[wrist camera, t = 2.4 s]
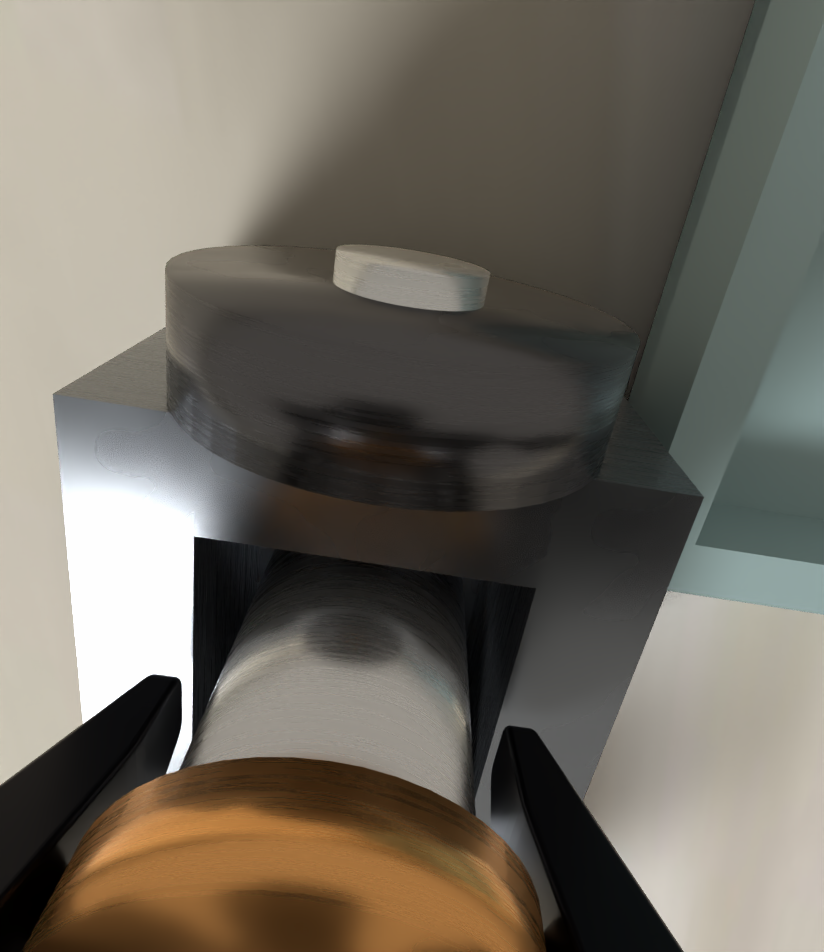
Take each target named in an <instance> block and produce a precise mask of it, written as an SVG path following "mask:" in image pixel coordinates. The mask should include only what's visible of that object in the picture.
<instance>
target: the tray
mask: <svg viewBox="0 0 824 952" xmlns="http://www.w3.org/2000/svg"><path fill="white" fill-rule="evenodd" d="M628 402H629V403H630V404H631V406H632V407H633V408H634V409H635V411H636V412H637V413H638V414H639V416H640V417H641V418H642V419H643V421H644V422H645V423H646V425H647V426H648V427H649V428H650V430H651V431H652V432H653V433H654V435H655V436H656V437H657V438H658V440H659V441H660V442H661V443H662V445H663V446H664V447H665V448H666V450H667V451H668V452H669V454H670V455H671V456H672V457H673V459H674V460H675V461H676V462H677V464H678V465H679V466H680V467H681V469H682V470H683V471H684V472H685V474H686V475H687V476H688V477H689V479H690V480H691V481H692V483H693V484H694V485H695V486H696V488H697V489H698V490H699V491H700V493H701V494H702V495H703V496H704V499H703V501H702V504H701V506H700V509H699V511H698V514H697V516H696V519H695V521H694V524H693V526H692V529H691V531H690V534H689V536H688V539H687V541H686V544H685V546H684V549H683V551H682V554H681V556H680V559H679V561H678V564H677V566H676V569H675V571H674V574H673V576H672V579H671V581H670V584H669V586H668V589H667V591H673V592H680V593H686V594H693V595H700V596H706V597H713V598H719V599H726V600H732V601H739V602H745V603H752V604H758V605H765V606H771V607H778V608H784V609H791V610H797V611H804V612H810V613H817V614H823V615H824V0H755V4H754V7H753V10H752V13H751V16H750V19H749V22H748V26H747V29H746V32H745V35H744V38H743V41H742V44H741V48H740V51H739V54H738V57H737V60H736V63H735V66H734V70H733V73H732V76H731V79H730V82H729V85H728V88H727V92H726V95H725V98H724V101H723V104H722V107H721V110H720V114H719V117H718V120H717V123H716V126H715V129H714V132H713V136H712V139H711V142H710V145H709V148H708V151H707V154H706V158H705V161H704V164H703V167H702V170H701V173H700V176H699V180H698V183H697V186H696V189H695V192H694V195H693V198H692V202H691V205H690V208H689V211H688V214H687V217H686V220H685V224H684V227H683V230H682V233H681V236H680V239H679V242H678V246H677V249H676V252H675V255H674V258H673V261H672V264H671V268H670V271H669V274H668V277H667V280H666V283H665V287H664V290H663V293H662V296H661V299H660V302H659V305H658V309H657V312H656V315H655V318H654V321H653V324H652V327H651V331H650V334H649V337H648V340H647V343H646V346H645V349H644V353H643V356H642V359H641V362H640V365H639V368H638V371H637V375H636V378H635V381H634V384H633V387H632V390H631V393H630V397H629V400H628Z"/></svg>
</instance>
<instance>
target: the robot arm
mask: <svg viewBox="0 0 824 952" xmlns="http://www.w3.org/2000/svg"><path fill="white" fill-rule="evenodd" d="M181 725H182V683H181V680H180V679H179V678H178V677H175V676H168V675H161V674H151V675H148V676H147V677H145V678H144V679H142V680H141V681H140V682H138V683H137V684H136V685H134V686H133V687H132V688H130V689H129V690H128V691H126V692H125V693H124V694H122V695H121V696H120V697H118V698H117V699H115V700H114V701H113V702H111V703H110V704H109V705H107V706H106V707H105V708H103V709H102V710H101V711H99V712H98V713H97V714H95V715H94V716H93V717H91V718H90V719H89V720H87V721H86V722H85V723H83V724H82V725H81V726H79V727H78V728H77V729H75V730H74V731H73V732H71V733H70V734H68V735H67V736H66V737H64V738H63V739H62V740H60V741H59V742H58V743H56V744H55V745H54V746H52V747H51V748H50V749H48V750H47V751H46V752H44V753H43V754H42V755H40V756H39V757H38V758H36V759H35V760H34V761H32V762H31V763H30V764H28V765H27V766H26V767H24V768H23V769H21V770H20V771H19V772H17V773H16V774H15V775H13V776H12V777H11V778H9V779H8V780H7V781H5V782H4V783H3V784H1V785H0V952H22V950H23V948H24V946H25V944H26V942H27V941H28V939H29V937H30V935H31V933H32V931H33V929H34V927H35V925H36V924H37V922H38V920H39V918H40V916H41V914H42V912H43V910H44V909H45V907H46V905H47V903H48V901H49V899H50V897H51V895H52V894H53V892H54V890H55V888H56V886H57V884H58V882H59V880H60V879H61V877H62V875H63V873H64V871H65V869H66V867H67V865H68V864H69V862H70V860H71V858H72V856H73V854H74V852H75V850H76V849H77V847H78V845H79V843H80V841H81V839H82V837H83V836H84V834H85V833H86V832H87V830H88V829H89V827H90V826H91V825H92V823H93V822H94V821H95V819H96V818H97V817H98V816H99V815H101V814H102V813H103V812H104V811H105V810H106V809H107V808H108V807H109V806H110V805H111V804H112V803H114V802H115V801H117V800H118V799H120V798H121V797H123V796H124V795H126V794H127V793H129V792H130V791H132V790H133V789H135V788H137V787H139V786H141V785H143V784H145V783H148V782H150V781H152V780H154V779H156V778H158V777H160V776H163V775H166V773H167V770H168V767H169V764H170V761H171V758H172V755H173V753H174V750H175V747H176V744H177V741H178V738H179V735H180V731H181ZM491 829H492V830H493V831H494V832H495V833H496V834H498V835H499V836H500V837H501V838H502V839H503V840H504V841H505V842H506V843H507V844H508V846H509V847H510V848H511V849H512V850H513V851H514V853H515V854H516V855H517V856H518V857H519V859H520V860H521V862H522V863H523V865H524V867H525V868H526V870H527V872H528V873H529V875H530V877H531V879H532V881H533V884H534V886H535V889H536V892H537V895H538V897H539V902H540V909H541V916H542V923H543V930H544V938H545V945H546V952H684V951H683V950H682V948H681V947H680V945H679V944H678V942H677V941H676V939H675V938H674V936H673V935H672V933H671V932H670V930H669V929H668V927H667V926H666V924H665V923H664V922H663V920H662V919H661V917H660V916H659V914H658V913H657V911H656V910H655V908H654V907H653V905H652V904H651V902H650V901H649V899H648V898H647V896H646V895H645V893H644V892H643V890H642V889H641V887H640V886H639V884H638V883H637V881H636V880H635V878H634V877H633V875H632V874H631V872H630V871H629V869H628V868H627V866H626V865H625V863H624V862H623V860H622V859H621V857H620V856H619V854H618V853H617V851H616V850H615V848H614V847H613V845H612V844H611V842H610V841H609V839H608V838H607V836H606V835H605V833H604V832H603V830H602V829H601V827H600V826H599V824H598V823H597V821H596V820H595V818H594V817H593V815H592V814H591V812H590V811H589V809H588V808H587V806H586V805H585V804H584V802H583V801H582V799H581V798H580V796H579V795H578V793H577V792H576V790H575V789H574V787H573V786H572V784H571V783H570V781H569V780H568V778H567V777H566V775H565V774H564V772H563V771H562V769H561V768H560V766H559V765H558V763H557V762H556V760H555V759H554V757H553V756H552V754H551V753H550V751H549V750H548V748H547V747H546V745H545V744H544V742H543V741H542V739H541V738H540V736H539V735H538V733H537V732H536V731H535V730H533V729H531V728H525V727H518V726H511V725H509V726H506V727H505V729H504V730H503V732H502V735H501V739H500V742H499V746H498V749H497V752H496V756H495V759H494V762H493V766H492V772H491Z"/></svg>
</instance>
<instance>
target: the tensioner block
mask: <svg viewBox="0 0 824 952" xmlns="http://www.w3.org/2000/svg"><path fill="white" fill-rule="evenodd" d="M165 290H166V327H165V328H163V329H162V330H160V331H158V332H156V333H155V334H153V335H151V336H150V337H148V338H146V339H145V340H143V341H141V342H140V343H138V344H136V345H135V346H133V347H131V348H129V349H128V350H126V351H124V352H123V353H121V354H119V355H118V356H116V357H114V358H113V359H111V360H109V361H108V362H106V363H104V364H103V365H101V366H99V367H97V368H96V369H94V370H92V371H91V372H89V373H87V374H86V375H84V376H82V377H81V378H79V379H77V380H76V381H74V382H72V383H71V384H69V385H67V386H65V387H64V388H62V389H60V390H59V391H57V392H55V393H54V394H53V401H54V412H55V423H56V434H57V444H58V455H59V466H60V477H61V488H62V499H63V510H64V520H65V531H66V542H67V553H68V564H69V575H70V585H71V596H72V607H73V618H74V629H75V640H76V651H77V661H78V672H79V683H80V694H81V705H82V716H83V723H85V722H86V721H87V720H89V719H90V718H91V717H93V716H94V715H95V714H97V713H98V712H99V711H101V710H102V709H103V708H105V707H106V706H107V705H109V704H110V703H111V702H113V701H114V700H115V699H117V698H118V697H120V696H121V695H122V694H124V693H125V692H126V691H128V690H129V689H130V688H132V687H133V686H134V685H136V684H137V683H138V682H140V681H141V680H142V679H144V678H145V677H147V676H148V675H151V674H161V675H168V676H175V677H178V678H179V679H180V680H181V683H182V725H181V731H180V735H179V738H178V741H177V744H176V747H175V750H174V753H173V755H172V758H171V761H170V764H169V767H168V770H167V773H166V774H169V773H173V772H176V771H179V769H180V767H181V764H182V762H183V760H184V757H185V755H186V753H187V750H188V748H189V746H190V744H191V741H192V739H193V737H194V734H195V732H196V730H197V727H198V725H199V723H200V720H201V718H202V716H203V713H204V711H205V709H206V707H207V704H208V702H209V700H210V697H211V695H212V693H213V690H214V688H215V686H216V683H217V681H218V679H219V676H220V674H221V672H222V669H223V667H224V665H225V663H226V660H227V658H228V656H229V653H230V651H231V649H232V646H233V644H234V642H235V639H236V637H237V635H238V632H239V630H240V628H241V626H242V623H243V621H244V619H245V616H246V614H247V612H248V609H249V607H250V605H251V602H252V600H253V598H254V595H255V593H256V591H257V588H258V586H259V584H260V582H261V579H262V577H263V575H264V572H265V570H266V568H267V565H268V563H269V561H270V558H271V556H272V554H273V551H274V549H281V550H288V551H294V552H301V553H307V554H314V555H320V556H327V557H333V558H340V559H347V560H353V561H360V562H366V563H373V564H379V565H386V566H392V567H399V568H406V569H412V570H419V571H425V572H432V573H438V574H445V575H451V576H458V577H463V592H464V610H465V628H466V646H467V665H468V683H469V701H470V719H471V737H472V756H473V774H474V792H475V810H476V817H477V818H478V819H480V820H481V821H483V822H484V823H485V824H486V825H487V826H489V827H490V828H491V772H492V766H493V762H494V759H495V756H496V752H497V749H498V746H499V742H500V739H501V735H502V732H503V730H504V729H505V727H506V726H509V725H511V726H518V727H525V728H531V729H533V730H535V731H536V732H537V733H538V735H539V736H540V738H541V739H542V741H543V742H544V744H545V745H546V747H547V748H548V750H549V751H550V753H551V754H552V756H553V757H554V759H555V760H556V762H557V763H558V765H559V766H560V768H561V769H562V771H563V772H564V774H565V775H566V777H567V778H568V780H569V781H570V783H571V784H572V786H573V787H574V789H575V790H576V792H577V793H578V795H579V796H580V798H581V799H582V801H583V799H584V796H585V794H586V791H587V789H588V786H589V784H590V781H591V779H592V776H593V774H594V771H595V769H596V766H597V764H598V761H599V759H600V756H601V754H602V751H603V749H604V746H605V744H606V741H607V739H608V736H609V734H610V731H611V729H612V726H613V724H614V721H615V719H616V716H617V714H618V711H619V709H620V706H621V704H622V701H623V699H624V696H625V694H626V691H627V689H628V686H629V684H630V681H631V679H632V676H633V674H634V671H635V669H636V666H637V664H638V661H639V659H640V656H641V654H642V651H643V649H644V646H645V644H646V641H647V639H648V636H649V634H650V631H651V629H652V626H653V624H654V621H655V619H656V616H657V614H658V611H659V609H660V606H661V604H662V601H663V599H664V596H665V594H666V591H667V589H668V586H669V584H670V581H671V579H672V576H673V574H674V571H675V569H676V566H677V564H678V561H679V559H680V556H681V554H682V551H683V549H684V546H685V544H686V541H687V539H688V536H689V534H690V531H691V529H692V526H693V524H694V521H695V519H696V516H697V514H698V511H699V509H700V506H701V504H702V501H703V499H704V496H703V495H702V494H701V493H700V491H699V490H698V489H697V488H696V486H695V485H694V484H693V483H692V481H691V480H690V479H689V477H688V476H687V475H686V474H685V472H684V471H683V470H682V469H681V467H680V466H679V465H678V464H677V462H676V461H675V460H674V459H673V457H672V456H671V455H670V454H669V452H668V451H667V450H666V448H665V447H664V446H663V445H662V443H661V442H660V441H659V440H658V438H657V437H656V436H655V435H654V433H653V432H652V431H651V430H650V428H649V427H648V426H647V425H646V423H645V422H644V421H643V419H642V418H641V417H640V416H639V414H638V413H637V412H636V411H635V409H634V408H633V407H632V406H631V404H630V403H629V402H628V401H627V399H626V398H625V397H624V393H625V390H626V387H627V383H628V380H629V377H630V374H631V371H632V367H633V364H634V361H635V358H636V355H637V351H638V348H639V345H640V339H639V337H638V335H637V334H636V333H635V332H634V330H633V329H632V328H630V327H629V326H628V325H626V324H625V323H623V322H622V321H620V320H618V319H617V318H615V317H613V316H611V315H609V314H607V313H605V312H603V311H601V310H599V309H596V308H594V307H592V306H589V305H587V304H584V303H582V302H579V301H576V300H573V299H570V298H568V297H565V296H562V295H559V294H556V293H552V292H549V291H546V290H543V289H539V288H536V287H532V286H529V285H525V284H522V283H518V282H514V281H510V280H506V279H502V278H498V277H494V276H490V272H489V271H488V270H486V269H484V268H482V267H480V266H477V265H475V264H472V263H468V262H465V261H462V260H458V259H454V258H450V257H446V256H441V255H436V254H432V253H426V252H421V251H415V250H409V249H402V248H395V247H386V246H376V245H358V244H357V245H341V246H338V247H337V248H336V250H331V249H319V248H307V247H289V246H224V247H213V248H205V249H198V250H193V251H189V252H185V253H181V254H179V255H177V256H175V257H173V258H171V259H170V260H169V261H168V262H167V263H166V268H165Z"/></svg>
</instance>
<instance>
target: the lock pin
mask: <svg viewBox="0 0 824 952" xmlns="http://www.w3.org/2000/svg"><path fill="white" fill-rule="evenodd" d="M22 952H546V945H545V938H544V930H543V923H542V916H541V909H540V902H539V897H538V895H537V892H536V889H535V886H534V884H533V881H532V879H531V877H530V875H529V873H528V872H527V870H526V868H525V867H524V865H523V863H522V862H521V860H520V859H519V857H518V856H517V855H516V854H515V853H514V851H513V850H512V849H511V848H510V847H509V846H508V844H507V843H506V842H505V841H504V840H503V839H502V838H501V837H500V836H499V835H498V834H496V833H495V832H494V831H493V830H492V829H491V828H490V827H489V826H487V825H486V824H485V823H484V822H483V821H481V820H480V819H478V818H477V817H476V810H475V792H474V774H473V756H472V737H471V719H470V701H469V683H468V665H467V646H466V628H465V610H464V592H463V577H458V576H451V575H445V574H438V573H432V572H425V571H419V570H412V569H406V568H399V567H392V566H386V565H379V564H373V563H366V562H360V561H353V560H347V559H340V558H333V557H327V556H320V555H314V554H307V553H301V552H294V551H288V550H281V549H274V551H273V554H272V556H271V558H270V561H269V563H268V565H267V568H266V570H265V572H264V575H263V577H262V579H261V582H260V584H259V586H258V588H257V591H256V593H255V595H254V598H253V600H252V602H251V605H250V607H249V609H248V612H247V614H246V616H245V619H244V621H243V623H242V626H241V628H240V630H239V632H238V635H237V637H236V639H235V642H234V644H233V646H232V649H231V651H230V653H229V656H228V658H227V660H226V663H225V665H224V667H223V669H222V672H221V674H220V676H219V679H218V681H217V683H216V686H215V688H214V690H213V693H212V695H211V697H210V700H209V702H208V704H207V707H206V709H205V711H204V713H203V716H202V718H201V720H200V723H199V725H198V727H197V730H196V732H195V734H194V737H193V739H192V741H191V744H190V746H189V748H188V750H187V753H186V755H185V757H184V760H183V762H182V764H181V767H180V769H179V771H176V772H173V773H169V774H166V775H163V776H160V777H158V778H156V779H154V780H152V781H150V782H148V783H145V784H143V785H141V786H139V787H137V788H135V789H133V790H132V791H130V792H129V793H127V794H126V795H124V796H123V797H121V798H120V799H118V800H117V801H115V802H114V803H112V804H111V805H110V806H109V807H108V808H107V809H106V810H105V811H104V812H103V813H102V814H101V815H99V816H98V817H97V818H96V819H95V821H94V822H93V823H92V825H91V826H90V827H89V829H88V830H87V832H86V833H85V834H84V836H83V837H82V839H81V841H80V843H79V845H78V847H77V849H76V850H75V852H74V854H73V856H72V858H71V860H70V862H69V864H68V865H67V867H66V869H65V871H64V873H63V875H62V877H61V879H60V880H59V882H58V884H57V886H56V888H55V890H54V892H53V894H52V895H51V897H50V899H49V901H48V903H47V905H46V907H45V909H44V910H43V912H42V914H41V916H40V918H39V920H38V922H37V924H36V925H35V927H34V929H33V931H32V933H31V935H30V937H29V939H28V941H27V942H26V944H25V946H24V948H23V950H22Z"/></svg>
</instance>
